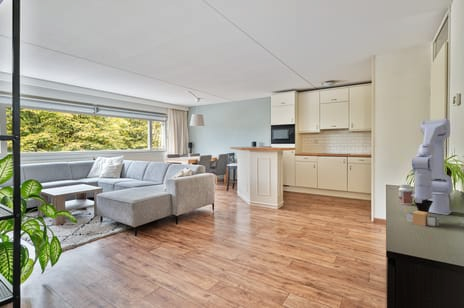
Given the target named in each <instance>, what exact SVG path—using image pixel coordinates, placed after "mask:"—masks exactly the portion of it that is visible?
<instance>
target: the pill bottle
mask: <svg viewBox="0 0 464 308" xmlns="http://www.w3.org/2000/svg"><path fill="white" fill-rule="evenodd" d="M412 194H413V189H412V188H411V184H410V183H400V184H399V188H398V203H399V204H400V205H403V206H412V205H413V203H414V200H413V196H411V195H412Z"/></svg>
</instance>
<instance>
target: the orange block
mask: <svg viewBox="0 0 464 308" xmlns="http://www.w3.org/2000/svg"><path fill="white" fill-rule="evenodd" d="M412 213H413V222H412V224H413V225H418V226H422V227H423V226H424V227H425V226H428V225H427V217H429V216H430V212H424V211H418V210H415V211H413V212H412Z"/></svg>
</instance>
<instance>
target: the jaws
mask: <svg viewBox="0 0 464 308" xmlns="http://www.w3.org/2000/svg"><path fill="white" fill-rule="evenodd" d="M411 213H413V212H411V211H409V212H407V213H405V215H404V221H405V222H407V223H413V214H411ZM429 216H433V217H434V218H433V217H427V225H426V226H431V227H436V226H437V227H439V226H440V219H439V218H438V217H439V216H437V215H432V214H431V215H430V214H429Z"/></svg>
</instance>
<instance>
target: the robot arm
mask: <svg viewBox="0 0 464 308" xmlns="http://www.w3.org/2000/svg"><path fill="white" fill-rule="evenodd" d="M420 133H422V135H423V140H422V141H423V142H422V143H420V144H419V146H418V149H417V152H416V156H415V157H412V160H411V167H412V174H414V175H413V176H414V177H413V178H414V179H413V181H414V183H413V184H414V193H412V195H411V196H412V198H414V200H413V203H414V204H415V207H416V208H417V211H424V212H429V214H430V213H431V214H439V215H445V216H448V215H449V214H451V213H452V212H453V210H450V197H449V195H451V194H452V193H453V191H454V183H453V179H452V177H451V176H450V175H448V174H447V173H445V141H446V138H448V137H450V136H451V121H450V120H449V118H443V119H432V120H422V121H421V123H420Z"/></svg>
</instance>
